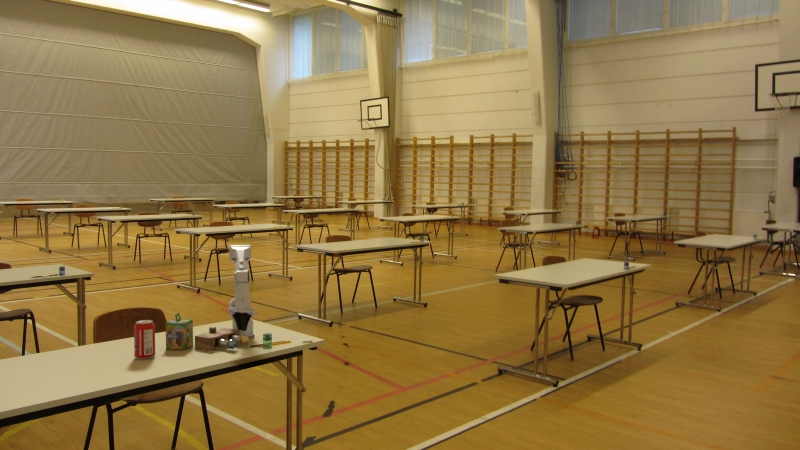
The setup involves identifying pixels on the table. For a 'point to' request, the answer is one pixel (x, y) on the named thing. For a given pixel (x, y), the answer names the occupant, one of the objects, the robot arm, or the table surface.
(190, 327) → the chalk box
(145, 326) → the soda can
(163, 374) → the table surface
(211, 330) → the dial
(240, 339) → the knob mustard
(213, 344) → the mount
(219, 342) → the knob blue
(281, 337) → the table surface
